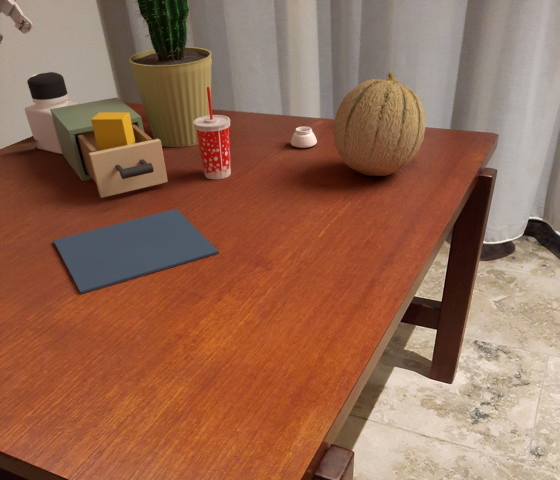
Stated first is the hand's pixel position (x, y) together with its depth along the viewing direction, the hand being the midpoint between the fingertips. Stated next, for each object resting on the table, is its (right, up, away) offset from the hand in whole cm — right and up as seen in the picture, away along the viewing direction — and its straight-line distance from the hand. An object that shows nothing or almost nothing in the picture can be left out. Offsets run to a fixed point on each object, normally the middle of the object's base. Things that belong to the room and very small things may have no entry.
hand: (15, 35), depth 83 cm
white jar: (+44, -6, +24) cm, 51 cm away
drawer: (+14, -18, +11) cm, 25 cm away
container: (-4, -5, +29) cm, 30 cm away
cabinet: (+7, -11, +21) cm, 25 cm away
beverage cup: (+29, -16, +15) cm, 36 cm away
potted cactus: (+20, -3, +30) cm, 36 cm away
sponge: (+13, -16, +12) cm, 24 cm away
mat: (+19, -33, -5) cm, 38 cm away
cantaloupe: (+56, -16, +13) cm, 60 cm away
